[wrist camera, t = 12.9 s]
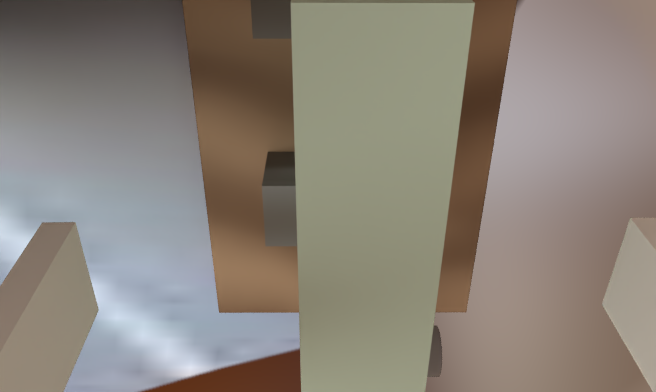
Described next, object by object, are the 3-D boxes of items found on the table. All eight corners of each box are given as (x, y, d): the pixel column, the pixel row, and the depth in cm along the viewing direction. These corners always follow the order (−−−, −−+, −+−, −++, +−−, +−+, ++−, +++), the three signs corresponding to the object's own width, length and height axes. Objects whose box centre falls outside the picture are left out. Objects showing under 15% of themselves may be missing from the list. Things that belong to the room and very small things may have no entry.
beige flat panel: (308, -96, 22) (291, 2, 10) (425, -96, 22) (548, 2, 10) (312, 226, 29) (304, 506, 17) (399, 226, 29) (452, 506, 17)
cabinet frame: (158, -286, 20) (-313, -595, 5) (549, -284, 20) (1179, -580, 5) (223, 293, 33) (141, 677, 18) (460, 293, 33) (571, 674, 18)
